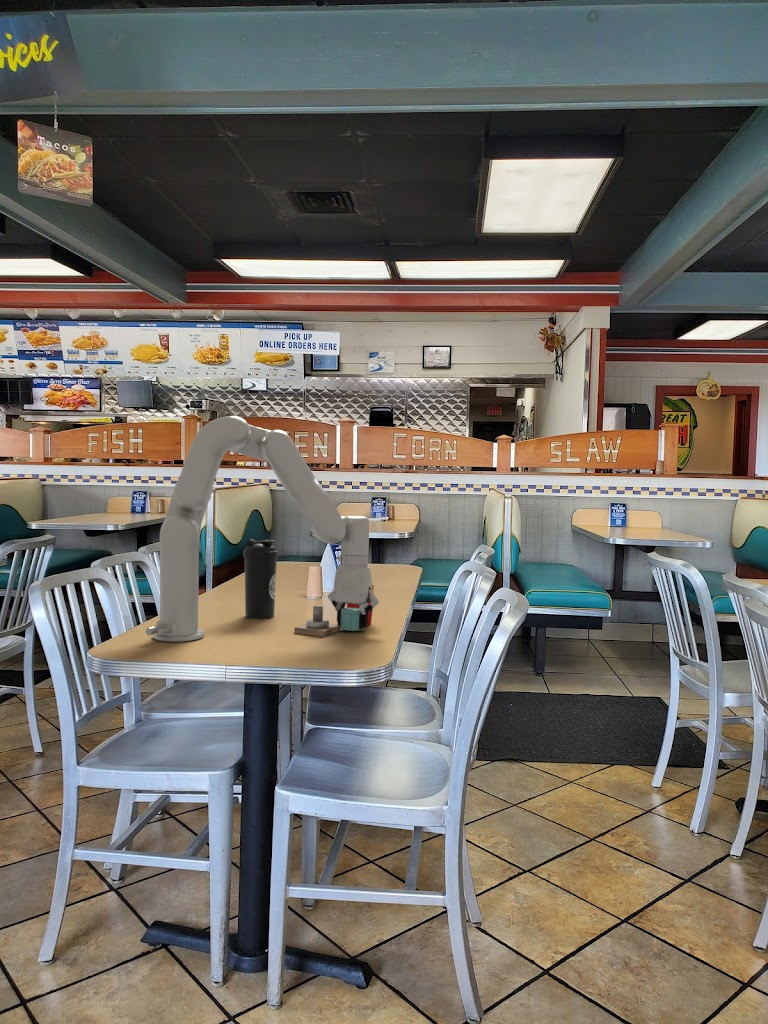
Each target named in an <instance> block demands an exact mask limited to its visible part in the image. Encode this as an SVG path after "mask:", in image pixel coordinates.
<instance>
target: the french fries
mask: <svg viewBox="0 0 768 1024" xmlns="http://www.w3.org/2000/svg"><path fill="white" fill-rule="evenodd" d="M374 589H375V585H374V584H372V593H373V594H374V595H375V593H374ZM375 596H376V595H375ZM367 603H368V605H369V604H370V603H371V601H370V602H367ZM346 608H360V607H359V604H351V603H346ZM373 609H374V608H373ZM373 609H372V610H371V611H370V613H368V624H367V627H369V625H370V626H372V617H373Z"/></svg>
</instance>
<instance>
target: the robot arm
mask: <svg viewBox="0 0 768 1024" xmlns="http://www.w3.org/2000/svg"><path fill="white" fill-rule="evenodd" d="M188 449H189V450H188V452H187V455H186V458H185V459H184V463H183V465H182V469H181V472H180V475H179V477H178V480H177V481H176V483H175V484H174V489H173V493H172V495H171V498H170V501H169V504H168V508H167V511H166V514H165V517H164V520H163V522H162V524H161V527H160V531H159V620H157V621H156V624H155V626H150V627H147V628H146V629H145V633H146V635H147V636H152V637H153V639H154V640H156V641H160V642H172V643H175V642H176V643H177V642H189V641H195V640H199V639H202V638H203V637H204V636H205V631H204V630H203V629H200V628H199V587H200V586H199V585H200V584H199V580H200V579H199V573H200V572H199V571H200V570H199V569H200V567H199V563H200V535H201V534H200V529H201V526H202V524H203V519H204V517H205V513H206V510H207V508H208V504H209V502H210V501H211V498H212V493H213V491H212V490H213V488H214V483H215V480H216V477H217V475H218V471H219V469H220V465H221V463H222V460H223V458H224V456H225V455H226V453H227V452H228V451H229V452H232V453H235V454H240V455H243V456H245V457H249V458H253V459H256V460H261V461H263V462H264V461H266V462H267V463H268V464H269V466H270V468H271V469H272V471H273V473H274V474H275V476H276V477H277V478H278V480H279V482H280V484H281V485H282V487H283V488H284V490H285V492H286V493H287V495H289V497H290V498H291V499H292V500H294V502H295V503H297V505H298V506H299V507H300V508H301V510H302V511H303V512H304V514H305V515H306V517H307V518H308V519H309V521H310V523H311V524H312V525H311V531H312V534H313V535H314V536H315V538H317V540H319V541H321V542H323V543H325V544H328V545H335V544H339V543H340V555H337V556H336V560H337V561H339V564H338V565H337V566H336V571H335V575H334V580H333V590H332V591H331V592H330V593H329V594H328V595H327V598H328V600H329V601H330V602H331V605H332V606H333V607H334V609H335V612H336V622H337V624H336V625H340V622H341V609H342V608H346V606H347V603H351V604H359V607H360V610H361V614H360V615H359V628H360V629H362V630H364V629H366V628H367V627H368V626H367V624H368V613H370V611H371V610H372V609H374V608H375V607H376V606H378V604H379V603H380V601H379V599H378V598H377V597H376V595H374V594H375V593H374V592H373V593H372V585H373V583H372V581H373V579H372V578H373V577H372V572H371V567H370V566H369V547H370V546H369V545H370V544H369V543H370V520H369V519H370V518H368V517H367V516H363V515H346V516H343V515H341V514H340V512H339V510H338V509H337V507H336V506H335V504H334V502H333V501H332V500H331V498H330V496H328V494H327V492H326V491H325V489H324V488H323V487H322V485H321V483H320V482H319V480H318V479H317V477H316V476H315V474H314V473H313V471H312V469H311V468H310V467H309V465H308V463H307V462H306V460H305V458H304V457H303V455H302V454H301V452H300V451H299V449H298V446H296V444H295V442H294V441H293V439H292V438H291V436H290V434H288V433H287V432H286V431H283V430H281V429H273V430H270V429H265V428H261V427H258V426H254V425H251V424H249V422H247V420H245V419H244V418H242V417H240V416H236V415H229V416H227V415H225V416H222V417H218V418H215V419H213V420H210V421H209V422H207V423H206V424H205V425H203V427H202V428H200V430H199V431H198V432H196V435H195V436H194V437H193V439H192V442H191V444H190V447H189V448H188ZM370 601H371V603H370V604H369V605H368V603H367V602H370ZM363 628H364V629H363Z"/></svg>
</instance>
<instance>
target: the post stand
mask: <svg viewBox="0 0 768 1024" xmlns="http://www.w3.org/2000/svg"><path fill="white" fill-rule="evenodd" d="M312 608H313V609H312V610H313V611H312V619H311V618H310V619H306V623H305V624H302V625H298V626H295V627H294V628H293V629H294V634H297V633H301V634H300V635H305V634H308V635H307V636H312V635H314V637H319V636H322V637H321V638H324V637H326V635H327V636H330V635H333V634H335V632H336V633H339V632H341V628H340V627H341V626H340V625H337V624H330V620H328V619H324V618H323V617H324V616H323V615H324V606H323V605H313V606H312ZM338 631H339V632H338ZM332 633H333V634H332ZM329 634H330V635H329ZM323 636H324V637H323Z"/></svg>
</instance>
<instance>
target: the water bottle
mask: <svg viewBox="0 0 768 1024" xmlns="http://www.w3.org/2000/svg"><path fill="white" fill-rule="evenodd" d="M274 542H275V540H274V539H266V540H265V539H263V540H259V541H257V540H256V539H253V538H251V539H248V540H247V542H246V546H245V548H244V550H243V551H242V556H243V557H242V558H243V559H244V600H245V601H244V602H245V603H244V606H245V607H244V608H245V609H244V610H245V614H244V615H245V616H246V617H245V618H247V617H248V618H247V619H251V618H257V619H256V620H263V619H262V618H267V619H271V618H270V617H272V618H274V617H275V604H276V583H277V582H276V581H277V559H278V557H279V550H277V547H276V546H275V545H274ZM273 616H274V617H273ZM258 618H259V619H258Z"/></svg>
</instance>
